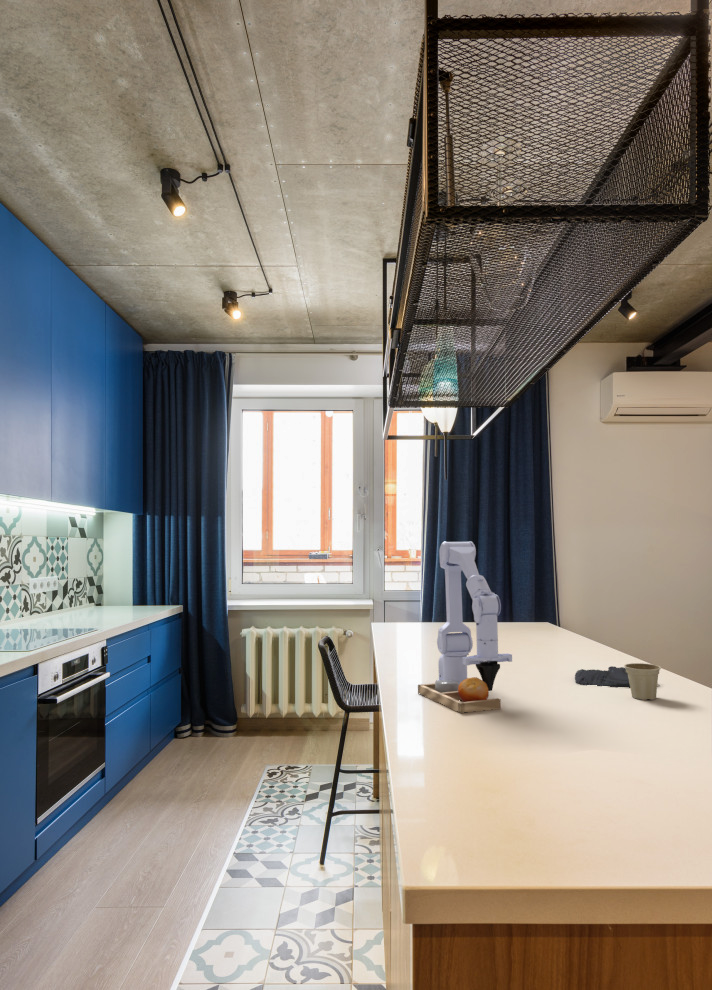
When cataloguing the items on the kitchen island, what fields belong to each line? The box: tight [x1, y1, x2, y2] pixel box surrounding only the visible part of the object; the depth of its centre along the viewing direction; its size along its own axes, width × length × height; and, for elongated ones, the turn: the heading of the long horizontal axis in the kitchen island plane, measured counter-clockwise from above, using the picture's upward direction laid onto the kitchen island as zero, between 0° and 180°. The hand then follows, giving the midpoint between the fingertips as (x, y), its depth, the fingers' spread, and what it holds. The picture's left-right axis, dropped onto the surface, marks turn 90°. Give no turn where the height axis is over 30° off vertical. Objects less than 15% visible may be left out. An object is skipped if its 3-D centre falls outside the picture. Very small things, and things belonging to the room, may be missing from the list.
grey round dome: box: [434, 679, 459, 693], centre depth 187 cm, size 7×7×4 cm
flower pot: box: [623, 662, 662, 701], centre depth 183 cm, size 9×9×9 cm
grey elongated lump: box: [574, 666, 631, 689], centre depth 203 cm, size 15×22×5 cm
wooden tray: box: [417, 682, 502, 714], centre depth 181 cm, size 24×12×2 cm, turn 21°
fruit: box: [458, 676, 489, 702], centre depth 177 cm, size 8×8×8 cm
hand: (488, 690), depth 178 cm, fingers closed
